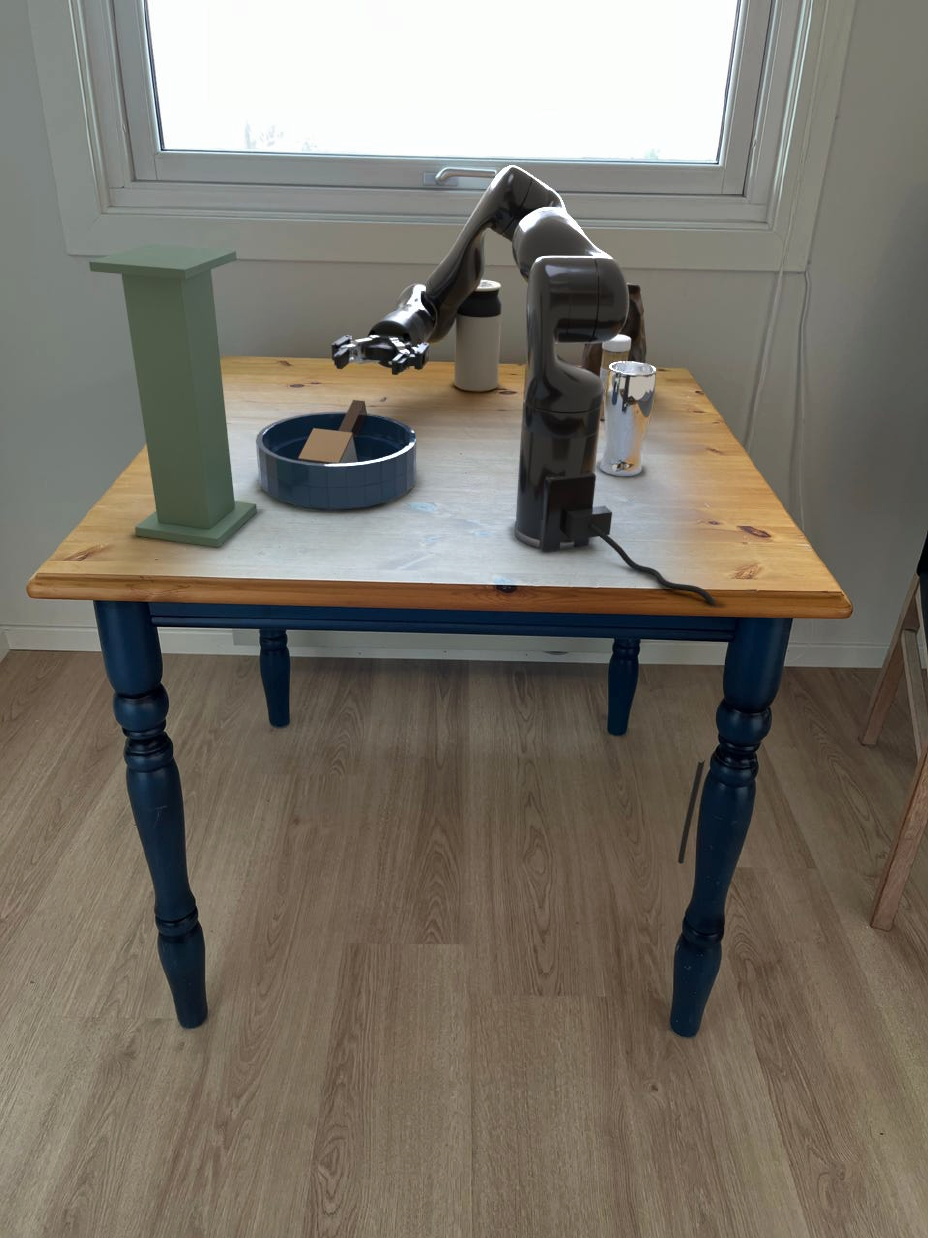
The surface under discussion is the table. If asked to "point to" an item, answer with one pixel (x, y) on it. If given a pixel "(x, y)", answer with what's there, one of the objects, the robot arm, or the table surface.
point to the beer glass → (627, 416)
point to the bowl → (337, 486)
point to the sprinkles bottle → (613, 358)
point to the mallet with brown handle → (336, 439)
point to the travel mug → (478, 339)
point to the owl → (630, 329)
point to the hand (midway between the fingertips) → (366, 365)
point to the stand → (180, 390)
